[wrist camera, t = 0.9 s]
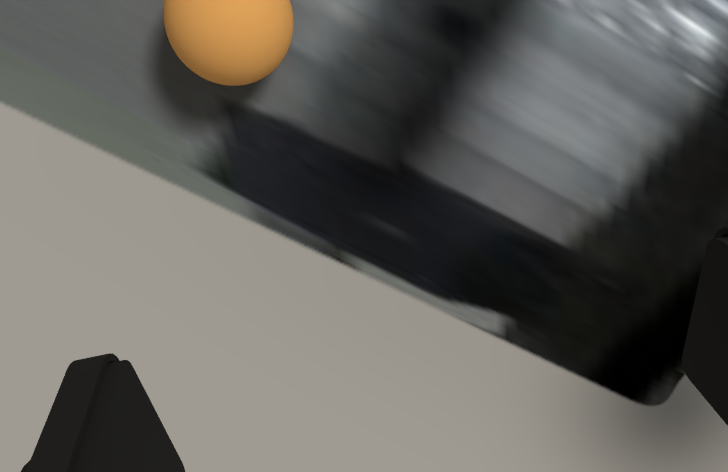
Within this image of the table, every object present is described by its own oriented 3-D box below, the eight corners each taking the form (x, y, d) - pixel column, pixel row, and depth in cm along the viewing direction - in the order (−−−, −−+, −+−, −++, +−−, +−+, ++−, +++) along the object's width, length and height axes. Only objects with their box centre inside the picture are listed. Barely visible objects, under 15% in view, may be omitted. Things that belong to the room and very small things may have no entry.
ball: (254, -80, 28) (247, -69, 23) (313, 34, 31) (318, 66, 26) (150, -21, 29) (121, 2, 24) (217, 84, 32) (204, 124, 27)
